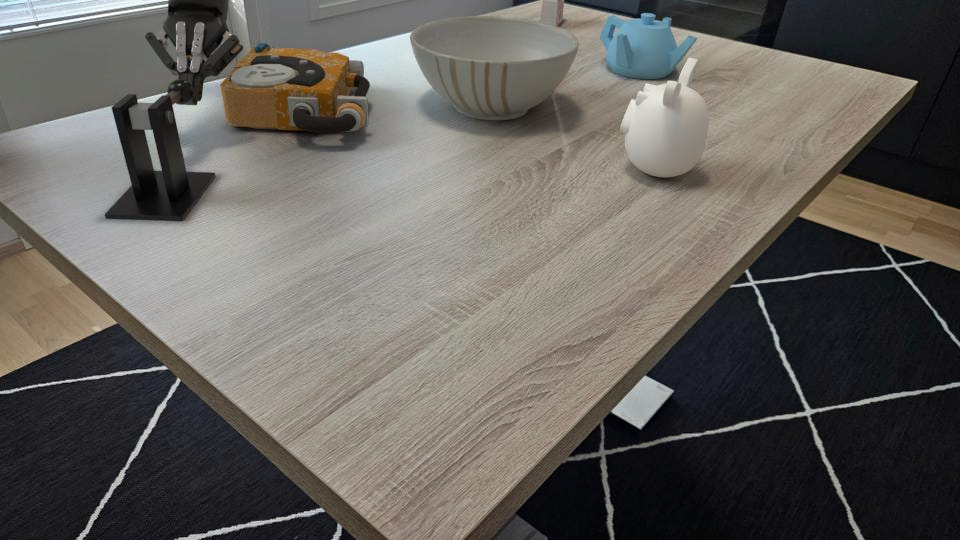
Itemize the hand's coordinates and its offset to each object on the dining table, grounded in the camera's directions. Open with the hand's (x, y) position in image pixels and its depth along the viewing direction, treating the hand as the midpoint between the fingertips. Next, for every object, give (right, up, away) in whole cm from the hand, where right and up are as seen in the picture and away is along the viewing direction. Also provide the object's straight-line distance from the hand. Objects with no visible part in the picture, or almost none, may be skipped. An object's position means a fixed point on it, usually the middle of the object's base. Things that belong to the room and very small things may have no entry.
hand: (188, 102), depth 93 cm
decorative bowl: (+41, +5, +25) cm, 48 cm away
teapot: (+71, +17, +46) cm, 86 cm away
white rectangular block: (+56, +36, +74) cm, 100 cm away
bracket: (0, -14, -6) cm, 15 cm away
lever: (0, -3, -7) cm, 7 cm away
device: (+11, +2, +19) cm, 22 cm away
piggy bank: (+64, -9, +6) cm, 65 cm away
